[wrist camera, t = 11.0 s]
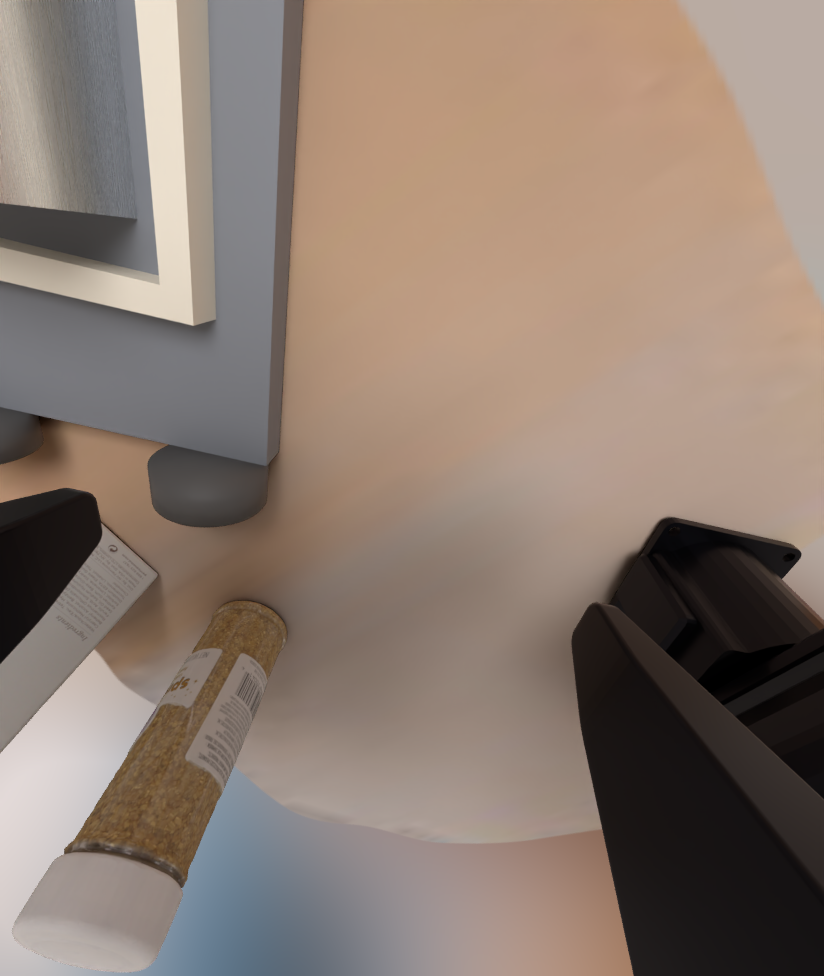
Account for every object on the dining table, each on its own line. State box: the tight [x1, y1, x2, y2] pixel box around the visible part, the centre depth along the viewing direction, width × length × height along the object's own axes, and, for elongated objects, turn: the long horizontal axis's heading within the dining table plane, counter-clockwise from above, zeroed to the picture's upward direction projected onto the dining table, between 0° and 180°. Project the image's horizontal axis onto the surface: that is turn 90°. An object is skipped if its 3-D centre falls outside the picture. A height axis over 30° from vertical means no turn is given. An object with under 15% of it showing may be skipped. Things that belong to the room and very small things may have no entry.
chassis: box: [0, 0, 304, 527], centre depth 11 cm, size 14×25×4 cm, turn 168°
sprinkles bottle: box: [12, 601, 287, 972], centre depth 19 cm, size 5×5×13 cm
